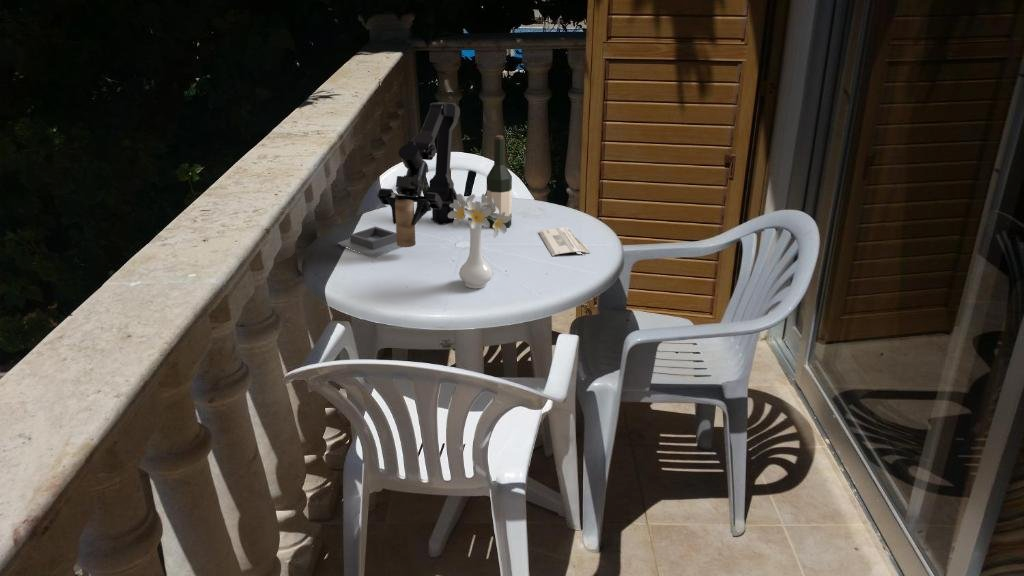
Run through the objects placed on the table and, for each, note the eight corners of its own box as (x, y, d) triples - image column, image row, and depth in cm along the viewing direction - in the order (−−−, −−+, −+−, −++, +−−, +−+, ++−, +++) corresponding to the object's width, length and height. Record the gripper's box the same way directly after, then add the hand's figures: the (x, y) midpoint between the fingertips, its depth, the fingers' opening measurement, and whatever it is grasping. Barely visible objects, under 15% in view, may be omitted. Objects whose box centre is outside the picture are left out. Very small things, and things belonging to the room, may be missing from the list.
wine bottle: (496, 219, 277) (496, 132, 266) (516, 224, 273) (517, 135, 261) (481, 225, 271) (481, 136, 259) (501, 230, 267) (502, 140, 255)
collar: (376, 232, 263) (376, 222, 262) (411, 243, 254) (410, 233, 253) (337, 245, 252) (337, 235, 251) (372, 257, 243) (372, 246, 241)
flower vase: (496, 299, 215) (496, 209, 205) (437, 286, 223) (435, 198, 213) (519, 283, 226) (520, 196, 216) (462, 270, 234) (461, 186, 224)
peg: (409, 239, 245) (408, 198, 240) (418, 244, 241) (417, 202, 236) (393, 243, 242) (391, 201, 237) (402, 248, 238) (400, 206, 233)
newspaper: (592, 256, 247) (591, 248, 246) (552, 262, 246) (552, 254, 245) (574, 231, 268) (574, 224, 267) (538, 237, 267) (537, 229, 265)
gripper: (377, 161, 238) (364, 208, 233) (438, 166, 234) (426, 214, 229) (389, 180, 248) (377, 226, 243) (447, 185, 244) (436, 231, 239)
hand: (403, 224), depth 238 cm, fingers closed on peg, 5 cm apart
